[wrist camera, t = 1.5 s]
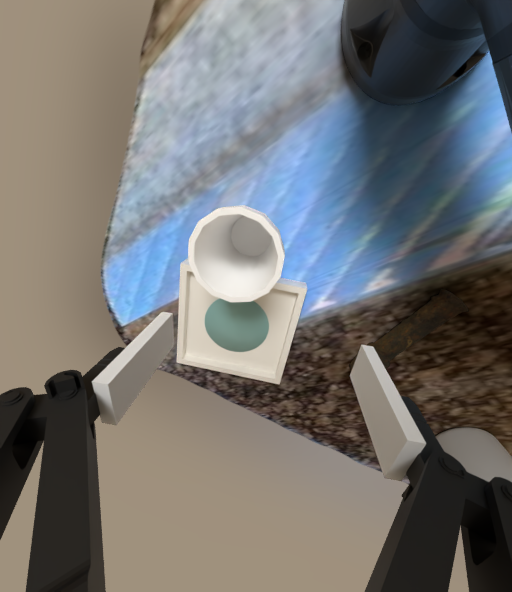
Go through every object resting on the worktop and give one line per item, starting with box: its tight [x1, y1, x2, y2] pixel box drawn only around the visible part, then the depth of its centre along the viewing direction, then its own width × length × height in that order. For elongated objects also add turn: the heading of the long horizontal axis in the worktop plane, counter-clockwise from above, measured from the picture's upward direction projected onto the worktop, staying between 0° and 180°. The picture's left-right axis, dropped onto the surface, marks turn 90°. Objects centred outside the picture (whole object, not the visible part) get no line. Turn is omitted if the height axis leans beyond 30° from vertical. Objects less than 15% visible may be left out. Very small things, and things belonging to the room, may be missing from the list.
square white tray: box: [177, 259, 307, 384], centre depth 40 cm, size 19×19×2 cm
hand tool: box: [349, 289, 469, 371], centre depth 36 cm, size 19×4×5 cm, turn 138°
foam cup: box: [188, 205, 285, 302], centre depth 29 cm, size 10×9×13 cm
